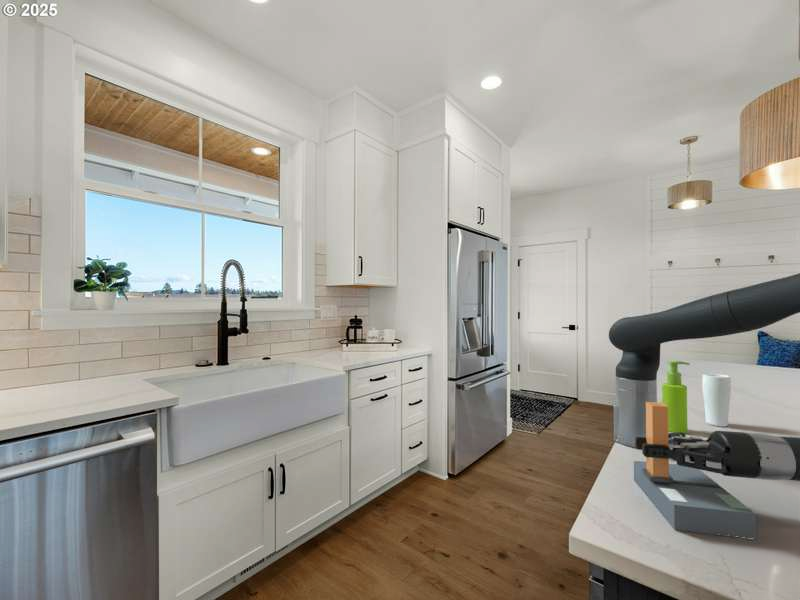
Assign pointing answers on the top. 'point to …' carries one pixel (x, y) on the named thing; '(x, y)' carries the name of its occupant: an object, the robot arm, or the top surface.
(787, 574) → the top surface
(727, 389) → the drinking glass
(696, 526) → the switch box
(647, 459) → the handle
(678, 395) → the soap dispenser
